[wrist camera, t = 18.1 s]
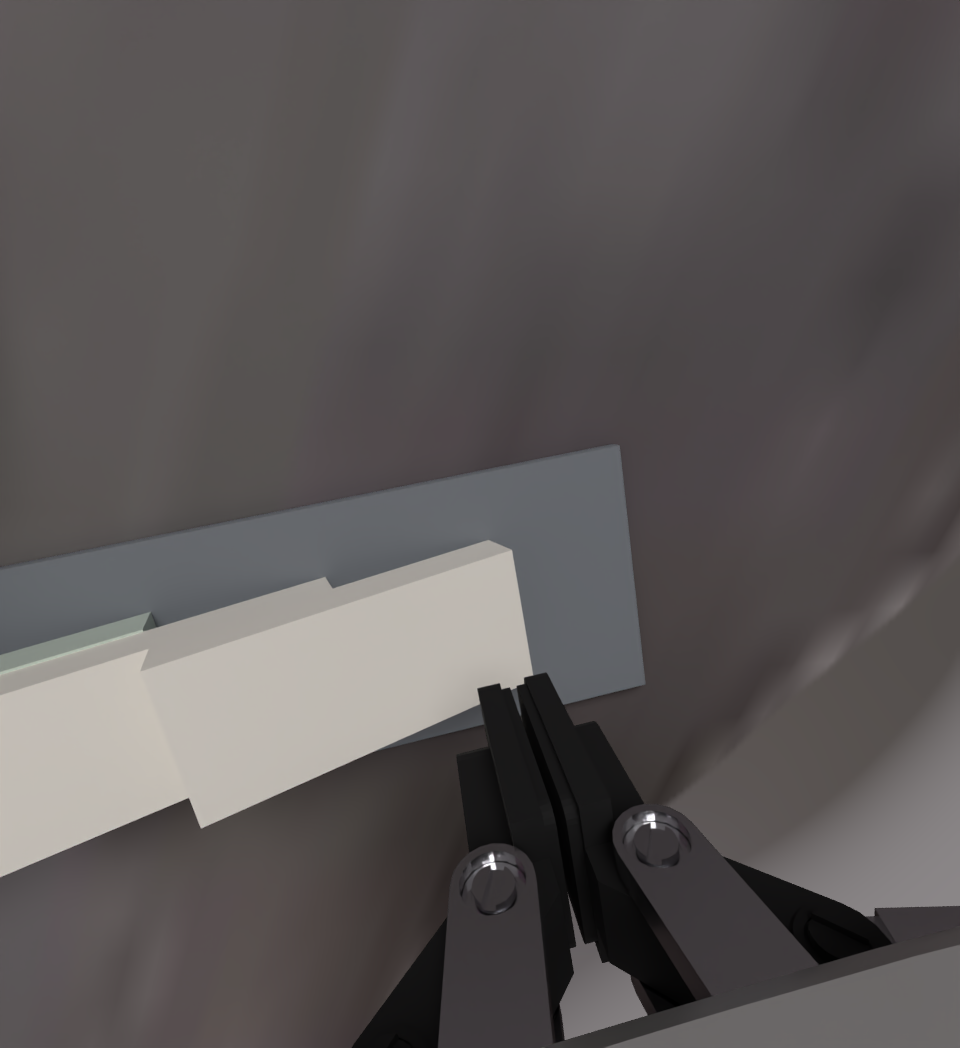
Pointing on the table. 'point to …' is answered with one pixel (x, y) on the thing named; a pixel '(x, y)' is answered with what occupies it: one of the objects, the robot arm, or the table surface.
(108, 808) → the domino
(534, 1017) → the robot arm
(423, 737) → the mat
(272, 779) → the domino
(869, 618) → the table surface
